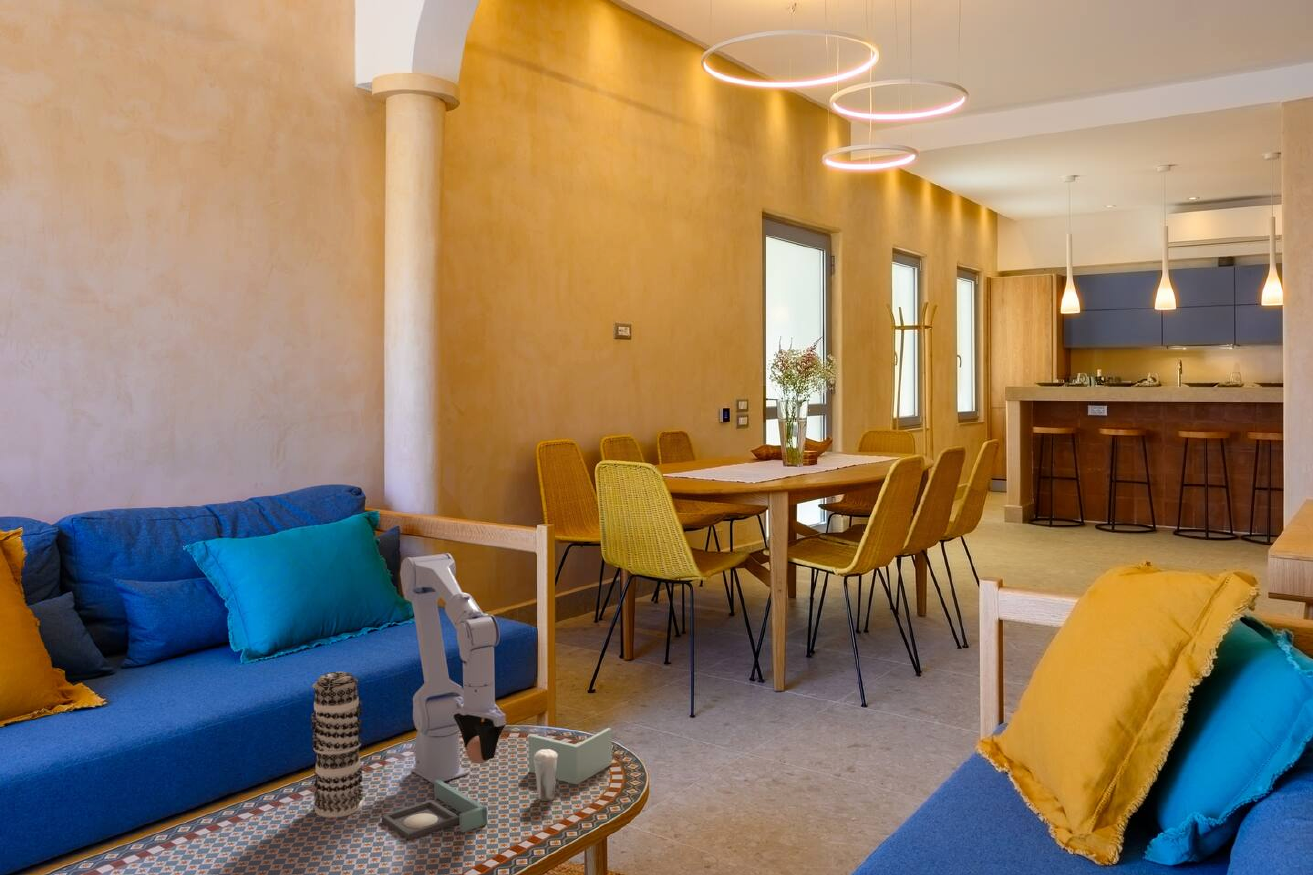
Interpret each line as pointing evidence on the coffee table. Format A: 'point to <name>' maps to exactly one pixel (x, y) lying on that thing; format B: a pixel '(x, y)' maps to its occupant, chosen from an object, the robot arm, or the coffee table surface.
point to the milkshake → (546, 773)
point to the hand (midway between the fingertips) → (480, 754)
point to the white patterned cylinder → (337, 745)
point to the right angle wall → (575, 755)
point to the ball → (475, 750)
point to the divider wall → (462, 806)
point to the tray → (420, 820)
